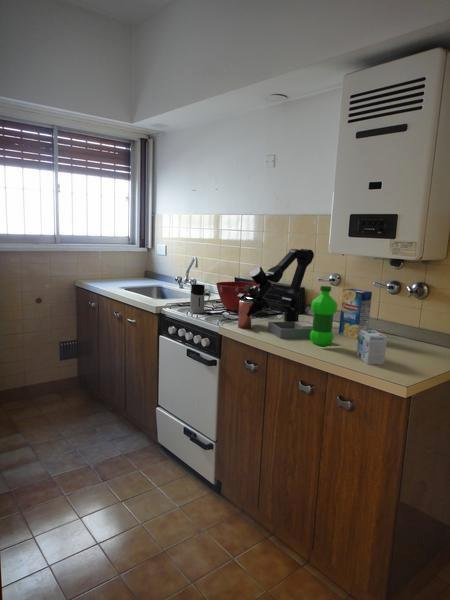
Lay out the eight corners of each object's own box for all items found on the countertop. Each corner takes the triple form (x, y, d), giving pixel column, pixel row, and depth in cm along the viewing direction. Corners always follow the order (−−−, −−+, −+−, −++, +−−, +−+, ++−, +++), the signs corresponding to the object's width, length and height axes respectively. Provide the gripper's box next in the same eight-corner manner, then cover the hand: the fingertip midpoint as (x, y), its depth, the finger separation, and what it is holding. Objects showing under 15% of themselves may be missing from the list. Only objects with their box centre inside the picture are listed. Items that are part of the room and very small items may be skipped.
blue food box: (357, 341, 188) (362, 292, 185) (338, 335, 197) (342, 289, 194) (367, 339, 192) (372, 291, 189) (348, 334, 201) (352, 288, 198)
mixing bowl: (205, 307, 252) (206, 282, 249) (238, 303, 271) (240, 280, 269) (238, 316, 232) (239, 288, 229) (272, 311, 251) (274, 285, 248)
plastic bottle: (303, 342, 181) (308, 284, 177) (324, 341, 185) (329, 284, 181) (317, 349, 172) (322, 288, 168) (338, 347, 176) (344, 288, 172)
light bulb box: (355, 356, 165) (358, 329, 163) (372, 356, 165) (375, 329, 164) (367, 364, 154) (370, 335, 153) (384, 365, 155) (388, 336, 153)
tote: (306, 331, 202) (307, 321, 201) (321, 339, 188) (322, 328, 187) (267, 332, 197) (268, 321, 196) (280, 340, 183) (280, 329, 182)
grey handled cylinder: (197, 309, 245) (198, 283, 243) (214, 313, 235) (215, 286, 233) (186, 310, 239) (186, 284, 236) (203, 315, 229) (204, 287, 227)
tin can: (248, 325, 209) (250, 299, 207) (253, 328, 202) (254, 302, 200) (236, 326, 207) (237, 299, 205) (240, 329, 201) (241, 302, 199)
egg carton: (306, 331, 199) (306, 321, 198) (315, 336, 190) (316, 326, 189) (293, 331, 197) (294, 321, 196) (302, 336, 188) (303, 326, 188)
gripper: (241, 277, 211) (222, 300, 206) (266, 281, 196) (247, 306, 191) (252, 292, 217) (234, 314, 212) (277, 297, 202) (259, 322, 197)
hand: (243, 314), depth 203 cm, fingers closed on tin can, 6 cm apart
